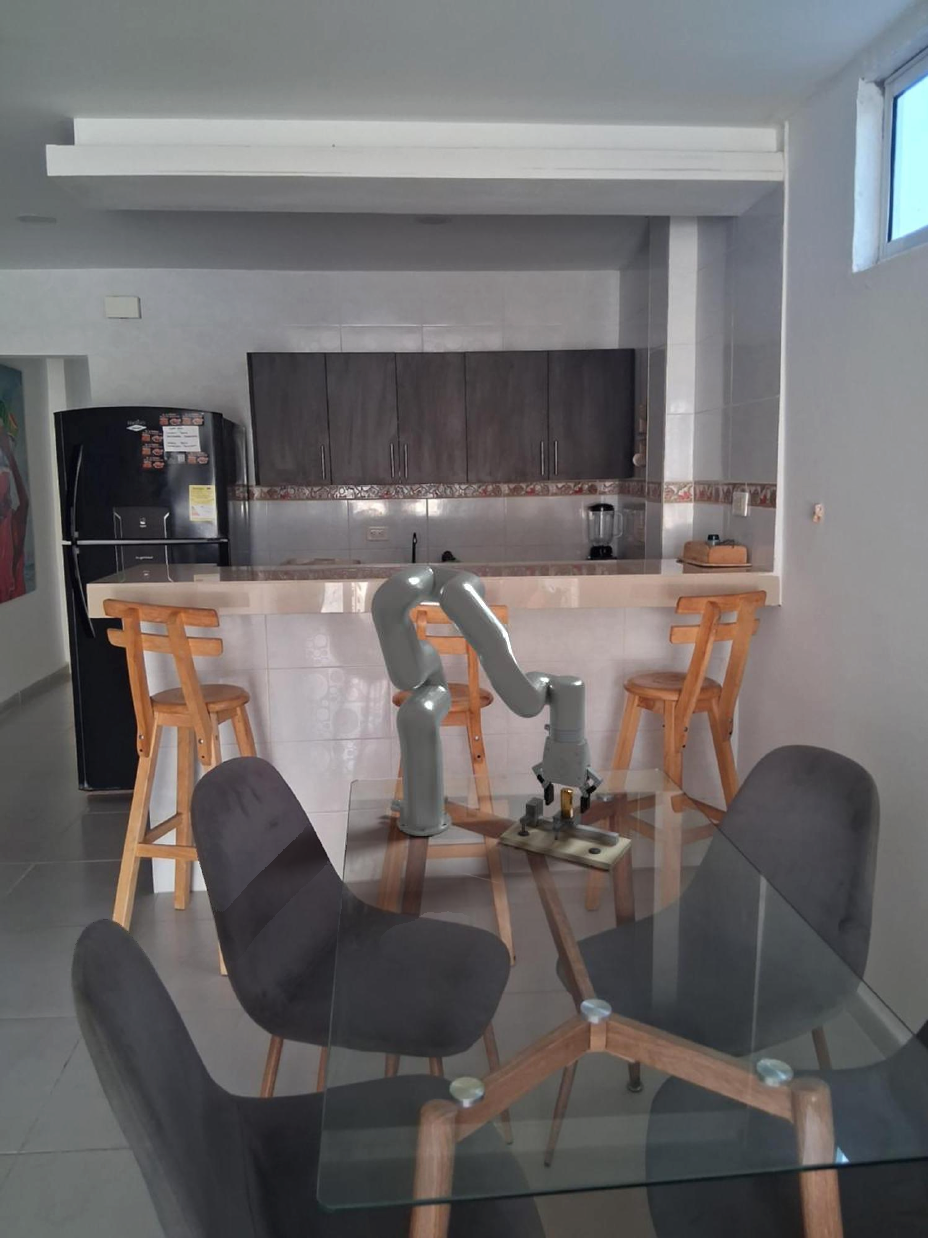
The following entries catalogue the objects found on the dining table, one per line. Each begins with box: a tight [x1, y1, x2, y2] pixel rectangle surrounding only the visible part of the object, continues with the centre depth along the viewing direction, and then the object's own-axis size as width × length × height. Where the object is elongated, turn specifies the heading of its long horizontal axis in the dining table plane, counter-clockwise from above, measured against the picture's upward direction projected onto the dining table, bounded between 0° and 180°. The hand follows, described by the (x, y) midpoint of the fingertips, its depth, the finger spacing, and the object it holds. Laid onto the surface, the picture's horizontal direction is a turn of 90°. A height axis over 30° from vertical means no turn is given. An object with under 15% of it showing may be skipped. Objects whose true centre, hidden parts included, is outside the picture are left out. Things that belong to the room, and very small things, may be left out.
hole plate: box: [499, 796, 632, 871], centre depth 208 cm, size 26×12×7 cm, turn 60°
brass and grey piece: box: [552, 787, 582, 840], centre depth 208 cm, size 5×8×9 cm, turn 150°
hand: (566, 807), depth 210 cm, fingers open, 7 cm apart
